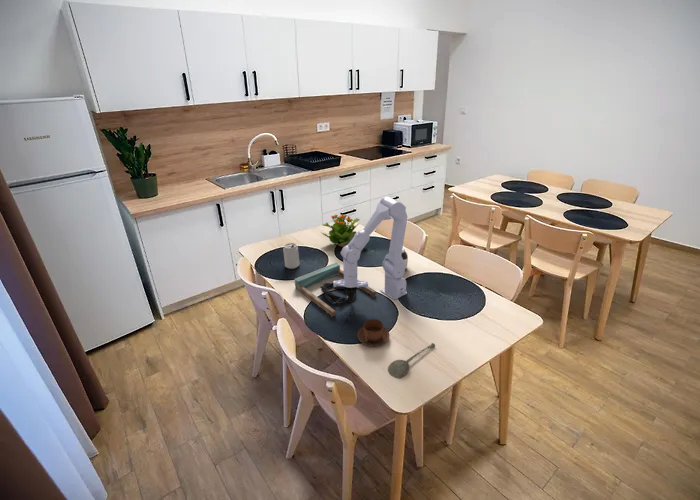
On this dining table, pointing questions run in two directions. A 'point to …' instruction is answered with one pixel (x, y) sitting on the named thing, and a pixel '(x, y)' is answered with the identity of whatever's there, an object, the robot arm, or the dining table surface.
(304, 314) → the dining table surface
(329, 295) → the cable
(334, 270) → the guide channel
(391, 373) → the soupspoon
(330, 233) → the potted flower
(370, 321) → the cup and saucer
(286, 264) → the can
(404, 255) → the spread jar
